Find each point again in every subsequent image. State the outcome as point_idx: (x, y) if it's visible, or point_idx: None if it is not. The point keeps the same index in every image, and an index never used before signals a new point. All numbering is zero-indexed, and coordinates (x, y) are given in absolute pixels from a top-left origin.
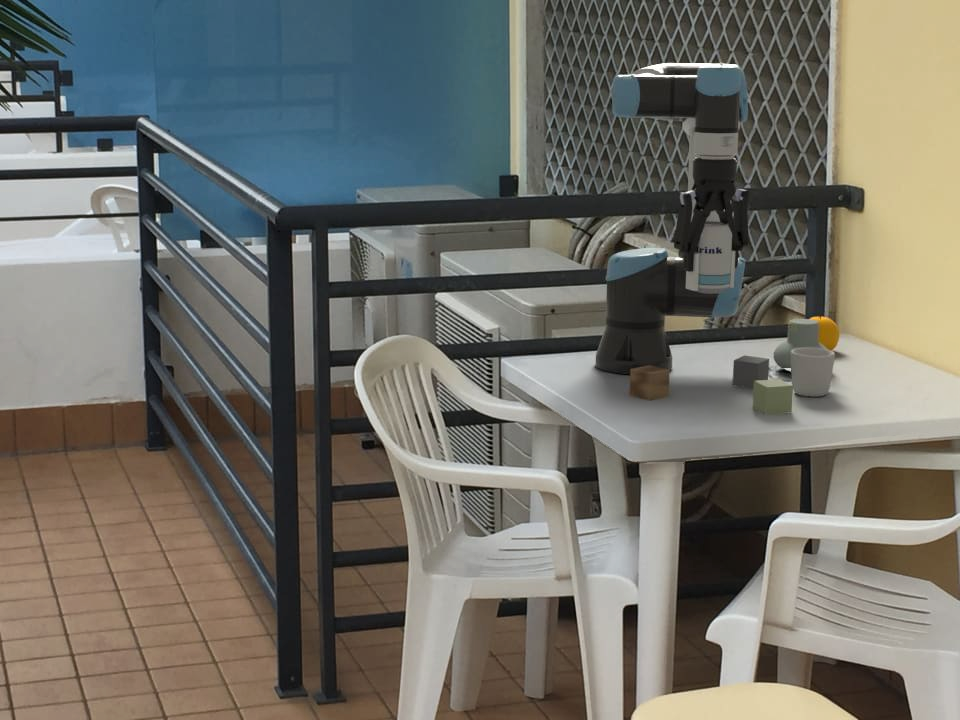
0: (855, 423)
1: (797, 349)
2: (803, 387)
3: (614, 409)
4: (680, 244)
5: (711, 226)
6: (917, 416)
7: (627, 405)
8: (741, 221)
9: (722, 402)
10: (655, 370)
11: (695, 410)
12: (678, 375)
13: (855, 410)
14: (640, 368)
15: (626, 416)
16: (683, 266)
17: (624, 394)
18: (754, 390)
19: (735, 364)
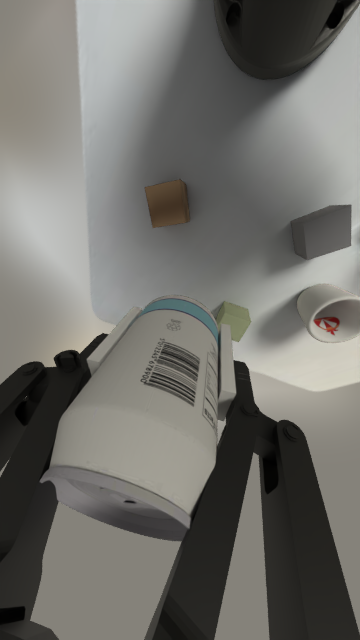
0: (247, 366)
1: (347, 299)
2: (297, 308)
3: (113, 235)
4: (26, 397)
5: (83, 506)
6: (300, 380)
7: (131, 229)
8: (269, 575)
9: (216, 273)
10: (168, 214)
11: (175, 280)
12: (292, 111)
13: (283, 350)
14: (158, 191)
15: (113, 261)
16: (94, 340)
17: (152, 183)
18: (223, 310)
19: (301, 226)
